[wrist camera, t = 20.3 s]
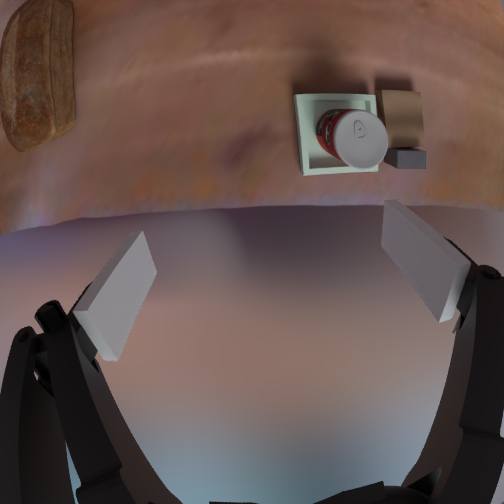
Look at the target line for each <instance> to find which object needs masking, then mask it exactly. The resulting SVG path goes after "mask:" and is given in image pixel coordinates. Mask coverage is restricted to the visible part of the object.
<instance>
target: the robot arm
mask: <svg viewBox="0 0 504 504" xmlns="http://www.w3.org/2000/svg"><path fill="white" fill-rule="evenodd" d="M381 246H382V247H383V248H384V250H385V251H386V252H387V253H388V255H389V256H390V257H391V258H392V260H393V261H394V262H395V263H396V265H397V266H398V267H399V268H400V270H401V271H402V272H403V274H404V275H405V276H406V277H407V279H408V280H409V282H410V283H411V284H412V285H413V287H414V288H415V290H416V291H417V292H418V294H419V295H420V296H421V298H422V299H423V301H424V302H425V303H426V305H427V306H428V308H429V309H430V311H431V312H432V314H433V315H434V317H435V318H436V319H437V321H438V322H439V323H440V322H443V321H446V320H450V319H452V317H453V315H454V312H455V310H456V307H457V309H458V310H459V311H460V313H461V314H460V316H459V318H458V321H457V323H456V325H455V328H454V330H453V333H455V331H456V336H455V342H454V347H453V353H452V358H451V362H450V367H449V371H448V375H447V379H446V383H445V387H444V390H443V394H442V397H441V401H440V404H439V407H438V410H437V413H436V416H435V419H434V422H433V425H432V427H431V430H430V433H429V435H428V438H427V441H426V443H425V446H424V448H423V450H422V452H421V455H420V457H419V459H418V461H417V463H416V464H415V465H414V467H413V468H412V469H411V471H410V472H409V473H408V475H407V476H406V478H405V480H404V482H403V483H402V485H401V486H384V483H383V481H380V482H377V483H374V484H370V485H367V486H363V487H360V488H356V489H352V490H347V491H343V492H341V493H338V494H336V495H334V496H331V497H329V498H327V499H324V500H322V501H319V502H316V503H314V504H490V503H491V501H492V498H493V495H494V492H495V490H496V487H497V484H498V481H499V477H500V474H501V471H502V467H503V464H504V438H503V437H501V436H500V428H501V423H502V417H503V411H504V277H502V276H501V274H500V273H499V272H498V270H496V269H495V268H493V267H491V266H488V265H480V266H478V265H477V264H476V263H475V262H474V261H473V260H472V259H471V258H470V257H468V255H466V254H465V253H464V252H463V251H462V250H461V249H460V248H458V246H457V245H455V244H454V243H453V242H452V241H451V240H449V239H447V238H445V237H443V236H441V235H440V234H439V233H437V231H435V230H434V229H433V228H432V227H430V226H429V225H428V224H427V223H426V222H424V221H423V220H422V219H421V218H419V217H418V216H417V215H416V214H414V213H413V212H412V211H410V210H409V209H408V208H407V207H405V206H404V205H403V204H401V203H400V202H399V201H397V200H385V201H384V218H383V230H382V241H381ZM156 274H157V271H156V269H155V266H154V263H153V260H152V257H151V254H150V251H149V248H148V245H147V242H146V239H145V236H144V233H143V231H137V232H131V233H130V234H129V236H128V237H127V238H126V239H125V241H124V242H123V243H122V244H121V245H120V247H119V248H118V249H117V250H116V252H115V253H114V254H113V256H112V257H111V258H110V259H109V261H108V262H107V263H106V265H105V266H104V267H103V269H102V270H101V271H100V273H99V274H98V276H97V277H96V278H95V280H94V281H93V282H91V283H90V284H89V285H88V286H87V287H86V288H85V290H84V291H83V292H82V295H81V296H80V297H79V298H78V300H77V301H76V303H75V304H74V306H73V307H72V308H71V310H70V312H69V313H68V314H67V315H66V313H65V312H64V310H63V308H62V306H61V305H60V303H59V301H57V300H52V301H49V302H47V303H45V304H44V305H42V306H41V307H40V308H39V309H38V310H37V312H36V313H35V319H36V321H37V322H38V324H39V325H40V327H41V328H42V330H43V331H44V333H41V334H36V333H35V331H34V329H33V328H32V327H30V326H28V327H24V328H22V329H20V330H19V331H18V332H17V334H16V335H15V337H14V339H13V342H12V345H11V350H10V353H9V356H8V360H7V365H6V369H5V373H4V377H3V383H2V388H1V393H0V504H75V500H74V495H73V491H72V486H71V480H70V474H69V468H68V461H67V452H66V443H67V446H68V449H69V452H70V455H71V458H72V461H73V463H74V466H75V469H76V471H77V474H78V476H79V478H80V481H81V486H80V487H79V488H77V489H76V497H77V501H78V503H79V504H182V502H181V501H180V500H179V499H178V498H176V497H175V496H174V495H173V494H172V493H171V492H170V491H169V490H168V489H167V488H166V487H165V485H164V484H163V482H162V481H161V480H160V478H159V477H158V475H157V474H156V472H155V471H154V469H153V468H152V466H151V465H150V463H149V462H148V460H147V459H146V457H145V455H144V454H143V452H142V450H141V449H140V447H139V445H138V444H137V442H136V440H135V439H134V437H133V435H132V433H131V432H130V430H129V428H128V426H127V424H126V422H125V420H124V418H123V416H122V414H121V413H120V410H119V408H118V406H117V404H116V402H115V400H114V398H113V396H112V394H111V392H110V390H109V387H108V385H107V382H106V381H105V378H104V376H103V373H102V371H101V368H100V366H99V363H98V362H97V360H96V359H95V356H96V353H97V351H98V352H99V354H100V355H101V357H102V358H103V359H104V360H107V361H119V358H120V356H121V353H122V351H123V348H124V346H125V343H126V341H127V339H128V336H129V334H130V331H131V329H132V327H133V324H134V322H135V320H136V318H137V315H138V313H139V311H140V308H141V306H142V304H143V302H144V299H145V297H146V295H147V293H148V291H149V289H150V287H151V284H152V282H153V280H154V278H155V276H156ZM34 372H35V373H36V374H37V375H38V381H37V380H36V378H35V375H34ZM65 440H66V442H65ZM209 504H257V503H252V502H251V503H234V502H232V503H231V502H209ZM501 504H504V502H502V503H501Z"/></svg>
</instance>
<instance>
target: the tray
mask: <svg viewBox="0 0 504 504" xmlns="http://www.w3.org/2000/svg"><path fill="white" fill-rule="evenodd" d="M293 96H294V104H295V113H296V123H297V132H298V143H299V154H300V166H301V173H302V174H303V175H304V176H305V175H318V174H332V173H348V172H370V171H378V165H376V166H375V167H372V168H370V169H357V168H353V167H351V166H349V165H347V164H345V163H344V162H342V161H340V160H339V159H337V158H336V157H334V156H332V155H331V154H329V153H328V152H326V151H325V150H324V149H323V148H322V147H321V146H320V144H319V142H318V140H317V137H316V125H317V122H318V120H319V118H320V117H321V115H322V114H323V113H325V112H326V111H328V110H331V109H360V110H365V111H368V112H371V113H372V114H374V115H376V116H377V113H376V100H375V95H365V94H296V95H293Z"/></svg>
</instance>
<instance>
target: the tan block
mask: <svg viewBox="0 0 504 504" xmlns="http://www.w3.org/2000/svg"><path fill="white" fill-rule="evenodd" d="M375 95H376V102H377V110H378V118H379V119H380V120H381V121H382V123H383V124H384V126H385V128H386V131H387V135H388V148H396V147H424V128H423V115H422V104H421V96H420V92H414V91H401V90H375Z"/></svg>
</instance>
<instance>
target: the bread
mask: <svg viewBox="0 0 504 504" xmlns="http://www.w3.org/2000/svg"><path fill="white" fill-rule="evenodd" d="M75 108H76V105H75V98H74V91H73V10H72V3H70V2H67V1H65V0H28V1H26V2H25V3H24V4H23V5H22V6H21V7H19V8H18V9H17V10H16V11H15V13H14V14H13V15H12V16H11V18H10V20H9V21H8V24H7V26H6V29H5V31H4V34H3V38H2V42H1V48H0V110H1V117H2V122H3V127H4V130H5V134H6V136H7V139H8V141H9V142H10V144H11V145H12V146H13V147H14V148H15V149H16V150H17V151H19V152H26V151H30V150H32V149H35V148H37V147H39V146H41V145H43V144H45V143H46V142H48V141H51V140H53V139H56V138H58V137H60V136H61V135H63V134H65V133H67V132H68V131H69V130H71V129H72V128H73V126H74V123H75Z"/></svg>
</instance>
